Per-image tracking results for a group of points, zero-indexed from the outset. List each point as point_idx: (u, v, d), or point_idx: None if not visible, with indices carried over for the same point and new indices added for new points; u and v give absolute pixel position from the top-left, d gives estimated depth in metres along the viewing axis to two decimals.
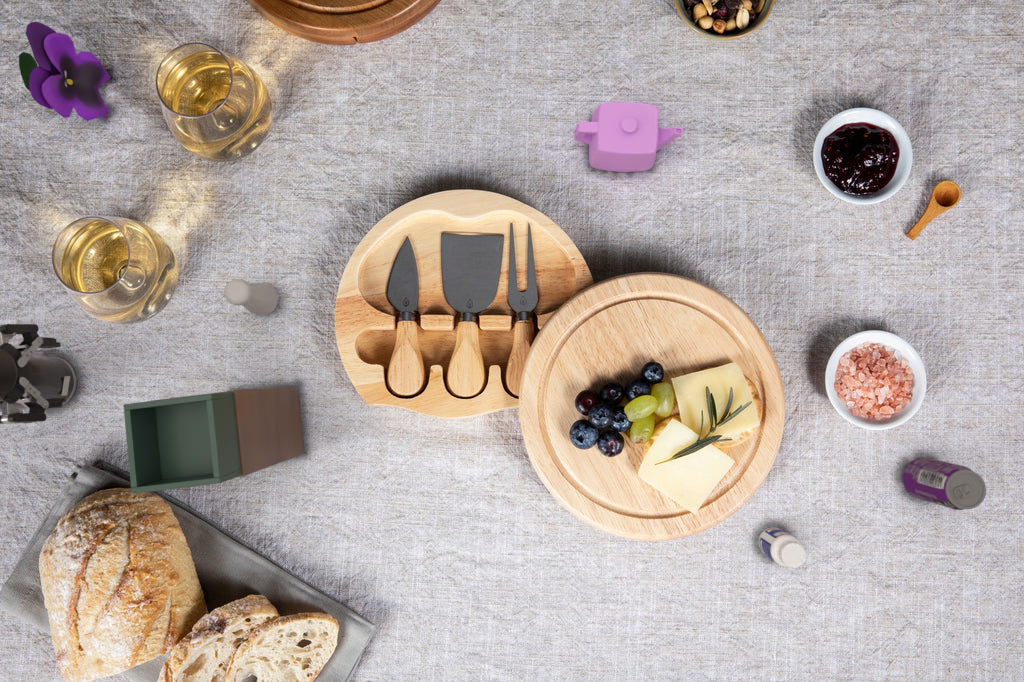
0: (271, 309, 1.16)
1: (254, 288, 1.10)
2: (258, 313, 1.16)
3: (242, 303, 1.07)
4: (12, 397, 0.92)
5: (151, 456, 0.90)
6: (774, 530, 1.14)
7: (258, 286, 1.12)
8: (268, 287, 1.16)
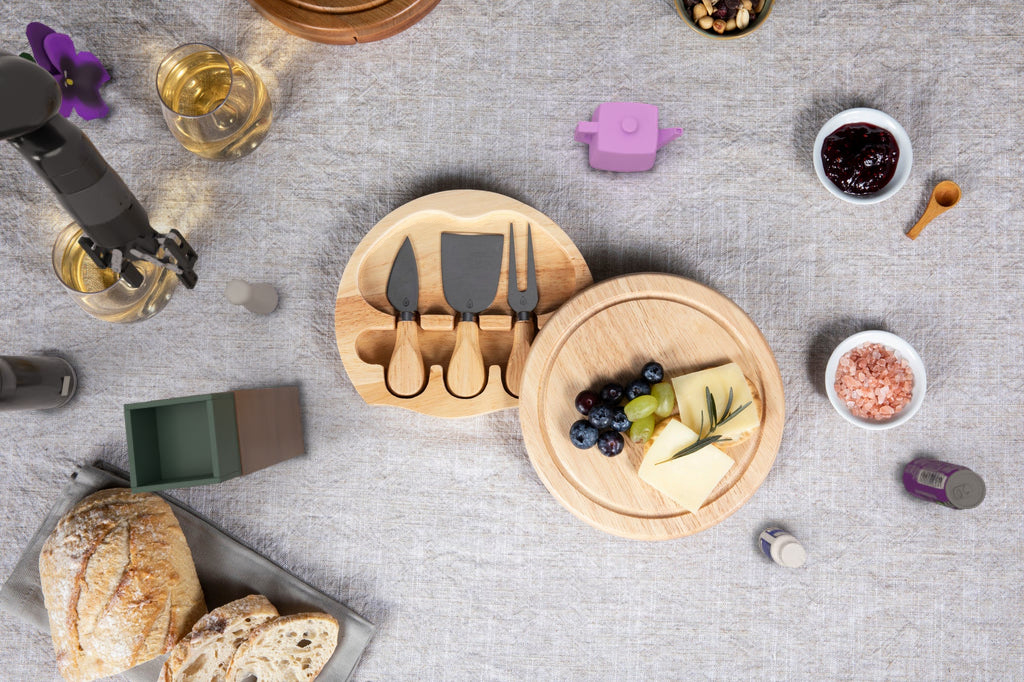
0: (271, 309, 1.16)
1: (254, 288, 1.10)
2: (258, 313, 1.16)
3: (242, 303, 1.07)
4: None
5: (151, 456, 0.90)
6: (774, 530, 1.14)
7: (258, 286, 1.12)
8: (268, 287, 1.16)
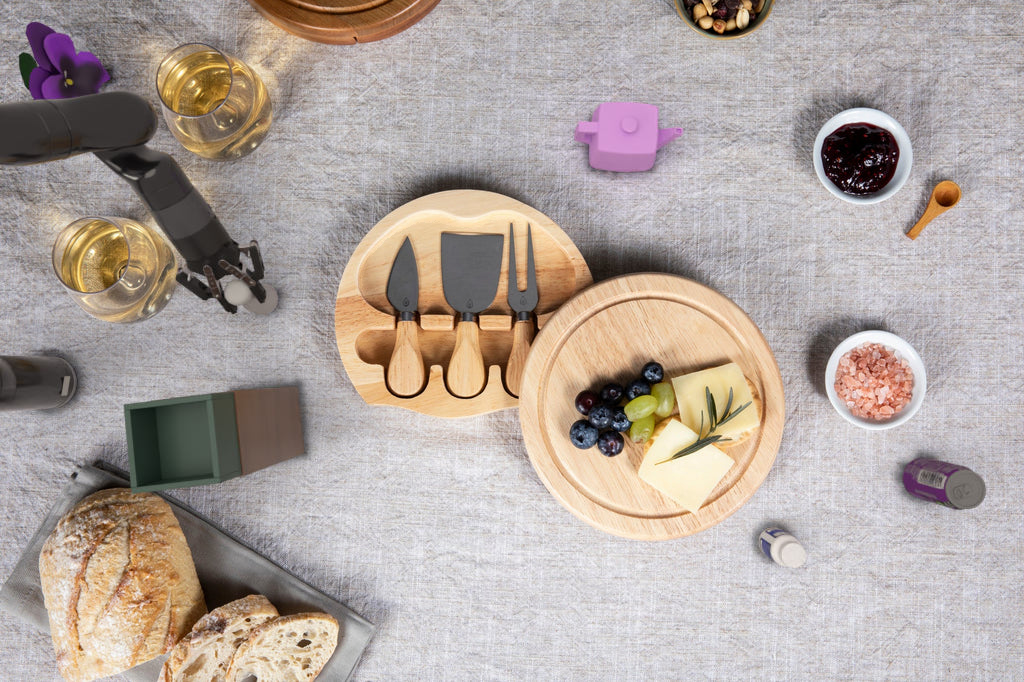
0: (271, 309, 1.16)
1: None
2: (258, 313, 1.16)
3: (242, 303, 1.07)
4: None
5: (151, 456, 0.90)
6: (774, 530, 1.14)
7: None
8: (268, 287, 1.16)
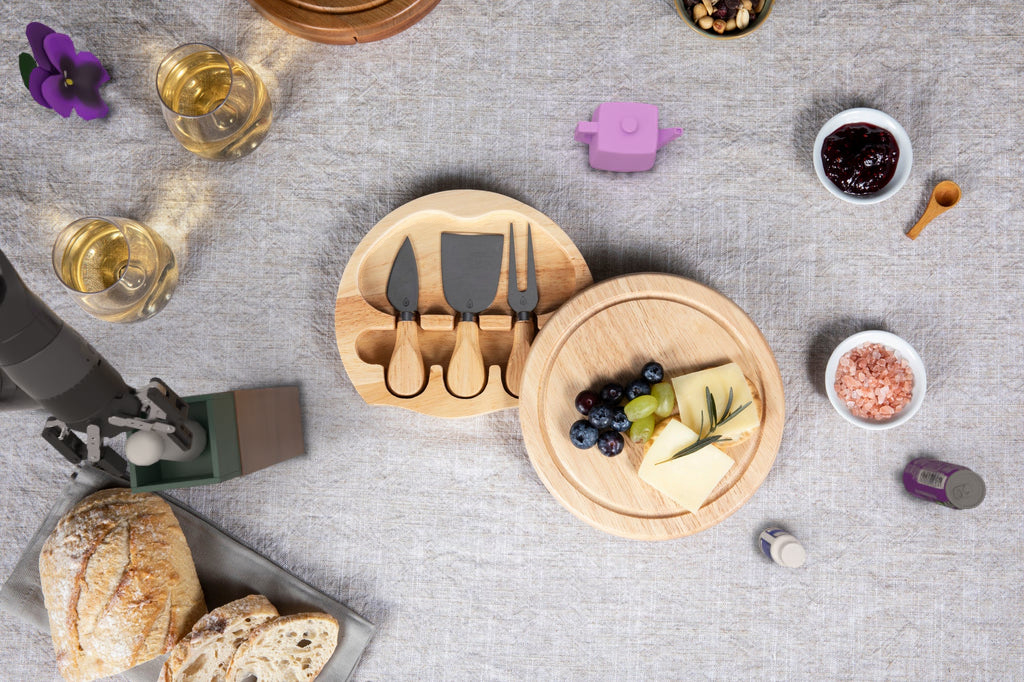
0: (197, 454, 0.89)
1: None
2: None
3: (149, 463, 0.80)
4: None
5: None
6: (774, 530, 1.14)
7: None
8: (193, 427, 0.88)
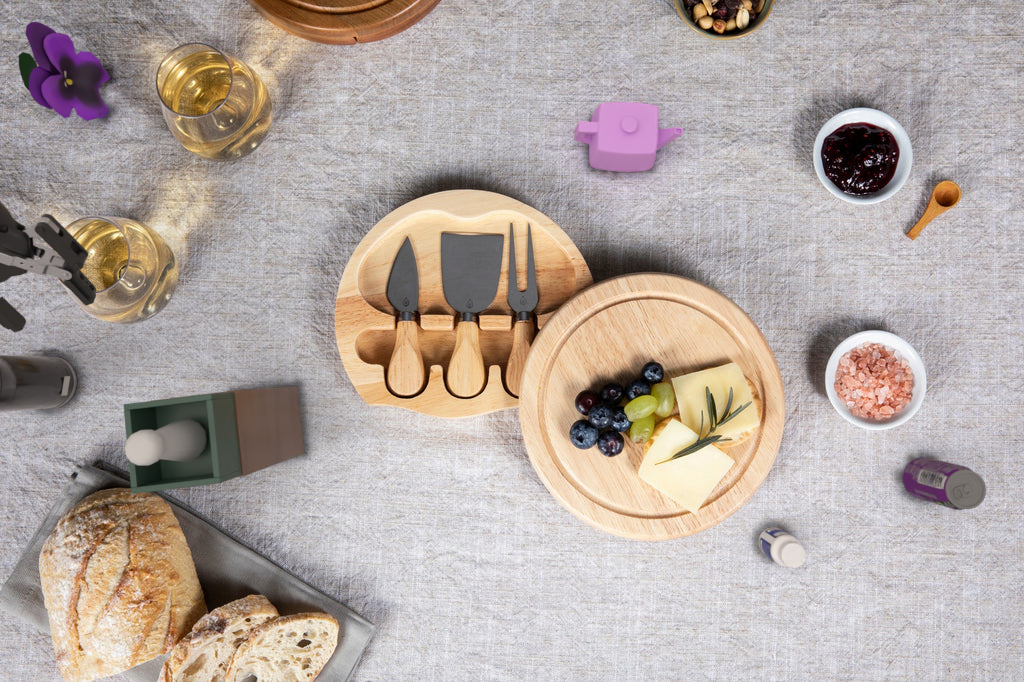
0: (197, 454, 0.89)
1: (169, 437, 0.83)
2: None
3: (149, 463, 0.80)
4: None
5: None
6: (774, 530, 1.14)
7: (176, 431, 0.85)
8: (193, 427, 0.88)
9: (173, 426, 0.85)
